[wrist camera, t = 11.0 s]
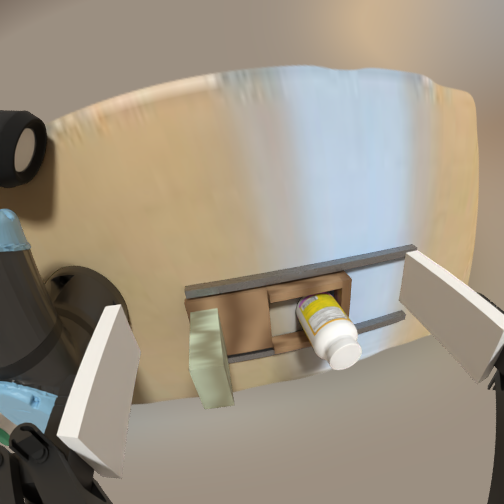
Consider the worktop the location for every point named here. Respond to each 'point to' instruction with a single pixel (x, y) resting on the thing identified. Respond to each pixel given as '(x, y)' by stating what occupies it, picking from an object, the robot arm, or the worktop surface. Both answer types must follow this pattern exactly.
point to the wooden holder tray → (246, 329)
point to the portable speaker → (20, 147)
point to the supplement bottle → (329, 330)
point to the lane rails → (301, 273)
